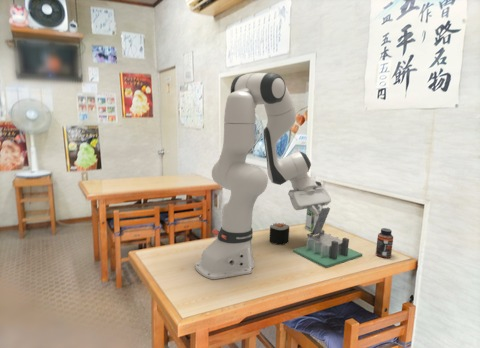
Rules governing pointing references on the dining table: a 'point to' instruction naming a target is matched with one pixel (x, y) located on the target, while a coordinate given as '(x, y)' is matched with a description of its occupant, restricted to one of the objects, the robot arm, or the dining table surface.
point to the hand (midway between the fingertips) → (319, 215)
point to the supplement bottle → (384, 243)
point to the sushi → (279, 233)
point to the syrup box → (311, 219)
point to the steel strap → (321, 220)
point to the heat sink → (322, 244)
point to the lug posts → (335, 248)
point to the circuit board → (326, 261)
